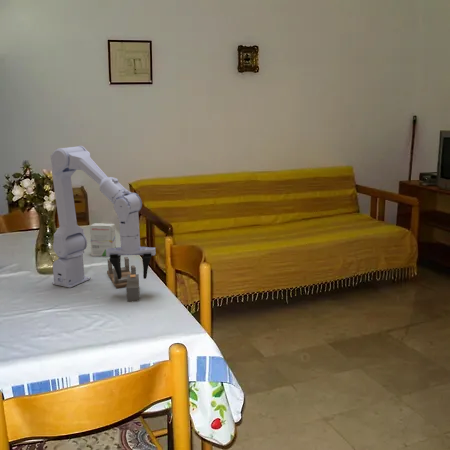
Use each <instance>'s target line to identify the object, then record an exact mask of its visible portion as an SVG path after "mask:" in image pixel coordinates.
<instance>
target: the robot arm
mask: <svg viewBox="0 0 450 450" xmlns="http://www.w3.org/2000/svg"><path fill="white" fill-rule="evenodd" d="M91 156H92V155H91V152H90V151H89V150H87V149H86V147H85V146H83V145H77V146H68V147H58V148H56V149H54V151H53V152H52V153H51V154H50V161H51V168H52V169H51V174H52V175H51V176H52V181H53V182H52V183H53V191H54V196H55V203H56V205H55V206H56V210H57V211H56V213H57V218H58V224H59V225H58V226H59V227H58V228H57V229H56V231H55V232H54V233H53V244H52V247H53V248H52V249H53V251H54V254H56V255H57V257H58V258H57V259H56V260H55V261H54V262H53V263H52V273H53V282H52V285H56V286H60V287H65V288H72V287H75V286H77V285H80V284H82V283H84V282H87V281H89V280H91V277H89V276H85V266H84V255H83V254H85V250H86V249H87V246H88V240H87V236H86V235H85V232H84V228H82V227H81V226H80V225H78V221H77V213H76V205H75V199H74V192H73V184H72V176H73V175H74V174H75V172H76V171H77V170H80V171H82V172H84V174H86V175H87V176H89V177H90V178H91V179H92V180H93V181H94V182H95V183H96V184H98V185H99V191H100V192H101V193H102V195H103V196H104V197H106V198H107V199H108V200H109V201H110V202H111V204H113V210H114V211H115V213H116V216H117V219H118V222H119V223H118V224H119V226H118V227H119V236H120V237H119V238H120V247H116V248H107V250H106V256H105V257H109V259H110V262H111V263H112V267H113V268H115V271H116V273H117V276H118V279H121V277H122V273H121V268H122V267H121V266H122V265H121V262H122V261H121V260H122V259H121V256H142V257H141V260H142V261H141V262H142V266H143V267H142V268H143V271H142V272H143V277H142V278H143V279H144V280H145V279H146V280H147V276H148V271H149V266H150V265H149V264H150V262H151V259H152V257H153V256H156V247H151V246H150V247H148V246H141V237H140V236H141V234H140V221H139V220H140V219H139V218H140V217H139V215H140V214H139V212H140V211H141V209H142V207H143V202H142V199H141V197H140V196H139V194H138V193H136V192H132V191H129V190H128V189H127V188H126V187H124V186H123V184H122V183H120V182H119V179H118V178H117V177H113V176H108V175H107V174H106V173H105V172H104V171H103V170H102V169H101V167H99V166H98V164H97V163H96V162H95V160H93V159H92V158H91Z"/></svg>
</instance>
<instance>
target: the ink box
mask: <svg viewBox="0 0 450 450" xmlns="http://www.w3.org/2000/svg"><path fill="white" fill-rule="evenodd" d="M89 235H90V252H91V253H90V254H91V256H92V257H93V256H94V257H107V256H106V250H107V248H117V244H116V243H117V239H116V224H115V223H102V222H101V223H99V222H98V223H97V222H95V223H92V224H90V225H89Z"/></svg>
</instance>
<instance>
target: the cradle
mask: <svg viewBox="0 0 450 450" xmlns="http://www.w3.org/2000/svg"><path fill="white" fill-rule="evenodd" d="M130 270H131V271H130ZM121 273H122V277H121V279H118V276H117V273H116V271H115V268H114V267H113V265H112V263H111V262H110V258H108V259H107V270H106V274H107V276H108V277H109V279H110V280H111V282H112V284H113V285H114V287H115V289H122V288H126V287H127V275H134V274H137V269H136V266H135V265H134V264H133V265H130V259H129V257H128V256H125V257H124V267H121Z"/></svg>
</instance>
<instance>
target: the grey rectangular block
mask: <svg viewBox="0 0 450 450" xmlns="http://www.w3.org/2000/svg"><path fill="white" fill-rule="evenodd" d="M139 276H140V275H139V273H136V274H134V275H127V287H125V288H126V302H127V303H130V302H132V301H133V302H140V280H139V279H140V277H139Z"/></svg>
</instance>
